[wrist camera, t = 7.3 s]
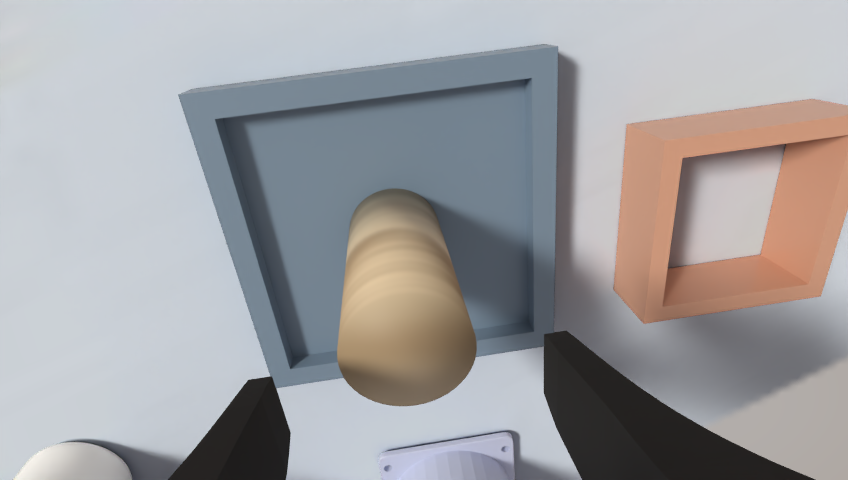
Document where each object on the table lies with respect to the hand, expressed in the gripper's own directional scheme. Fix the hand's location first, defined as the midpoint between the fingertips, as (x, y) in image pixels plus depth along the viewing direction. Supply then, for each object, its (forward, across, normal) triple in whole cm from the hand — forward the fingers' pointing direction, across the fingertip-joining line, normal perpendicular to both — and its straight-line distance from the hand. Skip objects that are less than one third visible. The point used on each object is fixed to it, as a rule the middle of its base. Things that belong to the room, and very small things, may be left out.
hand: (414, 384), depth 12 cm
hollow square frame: (+10, -15, +1) cm, 18 cm away
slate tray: (+10, 0, 0) cm, 10 cm away
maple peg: (+10, 0, 0) cm, 10 cm away
